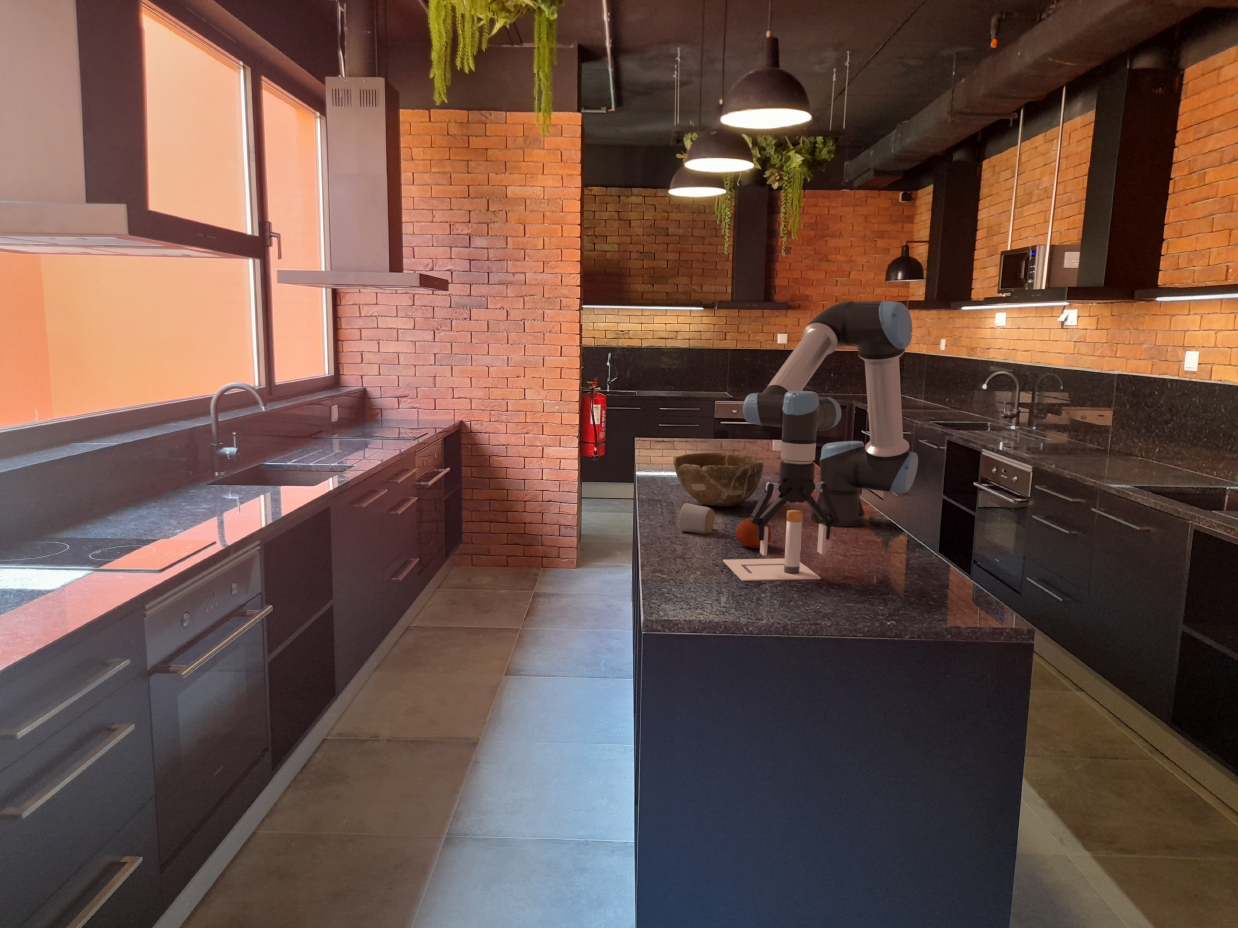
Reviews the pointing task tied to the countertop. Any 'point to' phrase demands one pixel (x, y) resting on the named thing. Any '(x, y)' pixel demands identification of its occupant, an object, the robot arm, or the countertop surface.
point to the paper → (766, 570)
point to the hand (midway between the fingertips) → (792, 553)
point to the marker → (793, 541)
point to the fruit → (749, 534)
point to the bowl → (719, 477)
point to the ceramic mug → (696, 519)
